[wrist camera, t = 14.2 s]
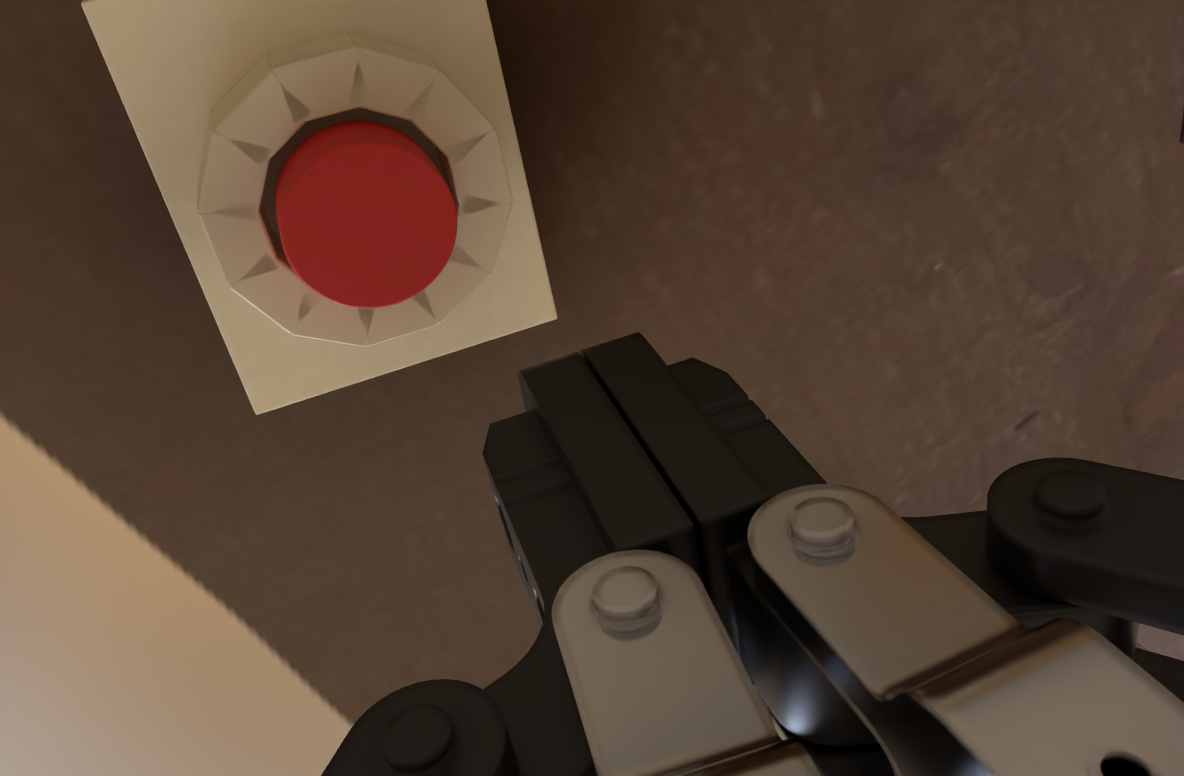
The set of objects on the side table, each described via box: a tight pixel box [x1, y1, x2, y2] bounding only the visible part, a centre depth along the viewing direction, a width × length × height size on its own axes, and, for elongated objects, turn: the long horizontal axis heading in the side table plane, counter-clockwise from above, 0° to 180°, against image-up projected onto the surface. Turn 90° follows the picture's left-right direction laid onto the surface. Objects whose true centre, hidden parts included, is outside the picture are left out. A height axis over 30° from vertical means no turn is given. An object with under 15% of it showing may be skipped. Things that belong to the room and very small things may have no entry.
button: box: [275, 121, 457, 308], centre depth 22 cm, size 4×4×2 cm
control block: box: [81, 0, 557, 415], centre depth 24 cm, size 10×8×4 cm
